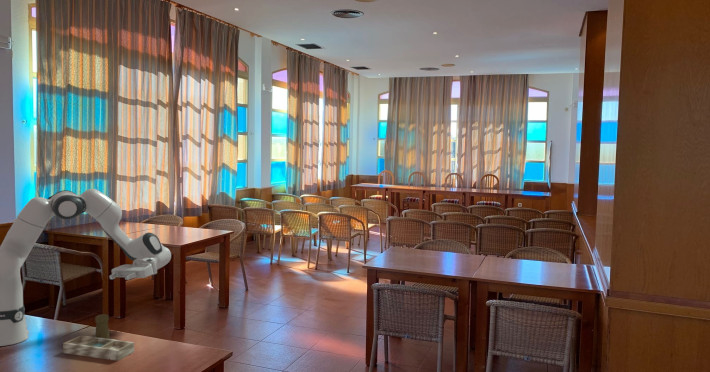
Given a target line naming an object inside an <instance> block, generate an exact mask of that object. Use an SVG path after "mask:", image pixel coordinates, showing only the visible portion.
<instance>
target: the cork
mask: <svg viewBox="0 0 710 372" xmlns="http://www.w3.org/2000/svg"><path fill="white" fill-rule="evenodd" d="M109 319H110V317H109V315H108V314H105V313H104V314H98V315H96V316H95V319H94V321H95V323H96V324H95V325H96V327H95V333H94V337H97V338H105V339H111V337H110V333H109V332H110V331H109V325H108V322H109Z"/></svg>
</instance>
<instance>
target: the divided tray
mask: <svg viewBox="0 0 710 372" xmlns="http://www.w3.org/2000/svg"><path fill="white" fill-rule="evenodd" d="M62 346H63V347H62V350H63V351H62V352H63V354H68V355H73V356H74V355H77V356H82V357H88V358H89V357H90V358H97V359H102V360H103V359H104V360H109V359H110V361H121V360H122V359H124V358H126V357H128V356H130V355H132V354H134V353H135V342H134V341H126V340H120V339H119V340H118V339H113V338H112V339H111V338H110V339H105V338H97V337H95V336H89V335H88V336H87V335H79V336H77V337H74V338H72V339H70V340H68V341H65V342H63V343H62ZM129 354H130V355H129Z"/></svg>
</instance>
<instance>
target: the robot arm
mask: <svg viewBox="0 0 710 372" xmlns="http://www.w3.org/2000/svg"><path fill="white" fill-rule="evenodd" d="M83 213H87V214H88V215H89V216H91V217H92V218H93V219H94V220H96V222H98V223H99V225H100V226H101V229H102V230H103V232H104V233H105V234H106V235H107V236H108V237H109V238H110V239H111V240H112V241H113V242H114V244H116V245H117V246H118V247H119V248H120V249H121V250H122V251H123V254H124V255H125V256H126V257H127V258H128V259H129V260H131V261H133V262H132V264H127V263H126V264H122V265H119V266H116V267H114V268H112V269H111V274H110V275H109V276H108V277H109V280H114V279H116V278H124V280H126V281H129V280H132V279H136V278H137V279H145V278H147V277H150V276H152V275H153V276H154V275H157V274H158V270H159V269H161V268H163V267H164V266H166V265H167V264H168V263H170V261H171V259H172V252H171V251H170V249H169V248H168V247H166V246H164V245H163V244H162V243H161V241H160V238H159V237H158V235H156V234H155V233H153V232H145V233H144V234H141V235H139V236H138V237H137V238H131V237H130V236H128V235H127V233H125V232H124V231H123V229H121V227H120V224H119V223H120V222H121V220H122V217H123V211H122V208H121V206H120V205H119V204H118V203H117V202H115V200H113V199H111V198H110V197H109V196H107V194H104V192H102V191H99V190H98V189H97V188H90V189H87V190H86V189H85V191H83V192H82V193H81V194H76V193H75V192H74V191H72V190H67V189H64V190H59V191H57V192H56V193H54V194H53V195H51V196H49V197H47V198H45V197H42V196H35V197H32V198H31V199H29V201H28V202H27V203H26V204H25V205H24V206H23V208H22V209H21V211H20V212H19V214H17V216H16V217H15V219H14V221H13V223H12V224H11V226H10V228H9V229H8V231H7V233H6V235H5V236H4V239H3V241H2V243H1V244H0V347H4V346H6V347H7V346H10V345H16V344H18V343H21V342H23V341H26V340H28V339H29V334H30V331H29V330H28V327H27V326H28V325H27V321H26V320H27V319H26V316H25V310H26V309H25V305H24V291H23V289H24V287H23V284H22V279H21V268H22V266H23V265H24V263H25V261H26V260H27V258H28V257H29V254H30V253H31V251H32V250H33V247H34V246H35V244H36V242H37V241H38V239H39V237H41V234H42V233H43V231H44V229H45V227H46V226H47V224H48V222H49V221H50V220H51V219H52V218H53V217H55V216H56V217H57V218H60V220H61V219H62V220H71V219H74V218H77V217H78V216H81V215H82V214H83Z"/></svg>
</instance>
